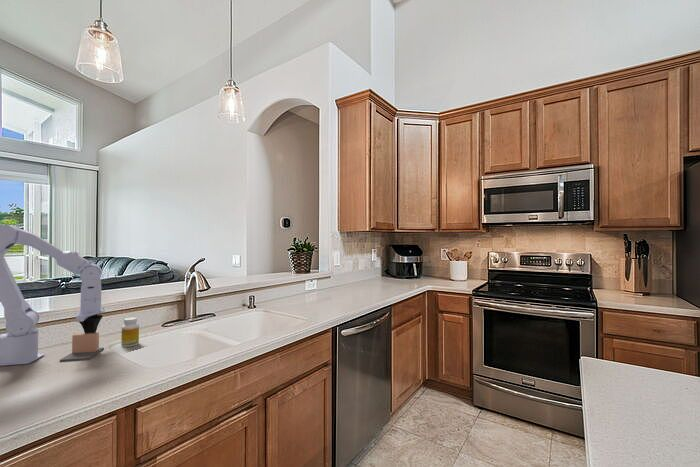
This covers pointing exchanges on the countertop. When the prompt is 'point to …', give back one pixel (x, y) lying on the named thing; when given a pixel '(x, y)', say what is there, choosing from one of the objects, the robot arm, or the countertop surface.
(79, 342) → the light wood block
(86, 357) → the mat
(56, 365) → the countertop surface
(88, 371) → the countertop surface
